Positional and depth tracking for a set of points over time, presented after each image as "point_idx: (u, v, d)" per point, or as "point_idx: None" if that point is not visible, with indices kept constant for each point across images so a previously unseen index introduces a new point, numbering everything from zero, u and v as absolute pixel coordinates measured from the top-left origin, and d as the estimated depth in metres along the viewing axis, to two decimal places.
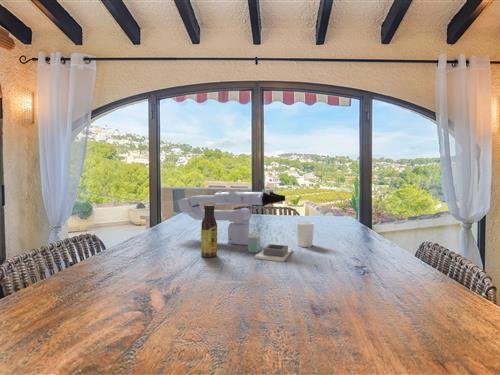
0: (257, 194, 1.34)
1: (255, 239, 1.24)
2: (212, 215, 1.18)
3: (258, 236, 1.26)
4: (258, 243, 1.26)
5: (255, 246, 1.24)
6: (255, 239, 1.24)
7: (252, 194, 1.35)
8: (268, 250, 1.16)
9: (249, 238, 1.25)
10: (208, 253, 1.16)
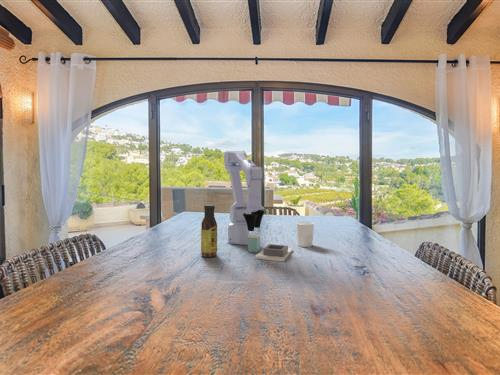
0: (256, 203, 1.23)
1: (255, 239, 1.24)
2: (212, 215, 1.18)
3: (258, 236, 1.26)
4: (258, 243, 1.26)
5: (255, 246, 1.24)
6: (255, 239, 1.24)
7: (256, 198, 1.23)
8: (268, 250, 1.16)
9: (249, 238, 1.25)
10: (208, 253, 1.16)
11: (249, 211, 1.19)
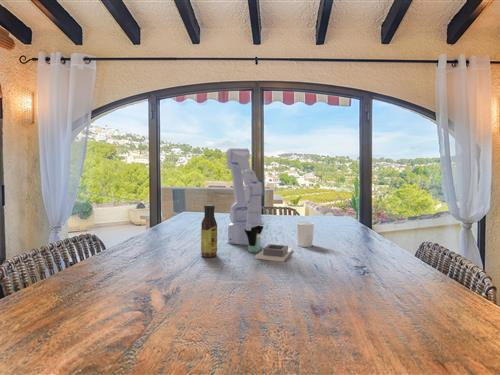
0: (256, 219, 1.23)
1: None
2: (212, 215, 1.18)
3: (258, 236, 1.26)
4: (258, 243, 1.26)
5: (255, 246, 1.24)
6: None
7: (256, 214, 1.23)
8: (268, 250, 1.16)
9: None
10: (208, 253, 1.16)
11: (249, 227, 1.19)
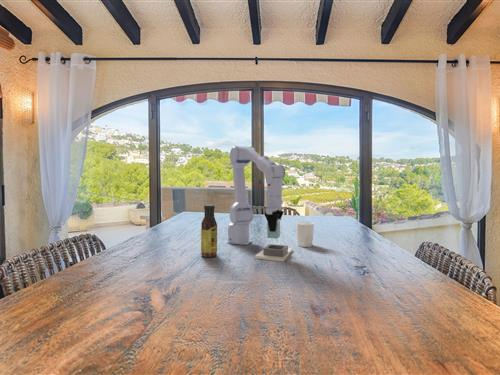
0: (277, 203, 1.16)
1: (276, 225, 1.17)
2: (212, 215, 1.18)
3: (278, 221, 1.18)
4: (278, 229, 1.19)
5: (275, 232, 1.17)
6: None
7: (277, 197, 1.16)
8: (268, 250, 1.16)
9: None
10: (208, 253, 1.16)
11: (270, 211, 1.12)
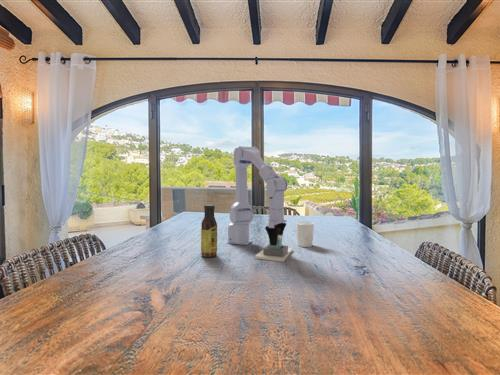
0: (279, 216, 1.16)
1: (277, 241, 1.17)
2: (212, 215, 1.18)
3: (280, 238, 1.18)
4: (280, 245, 1.18)
5: None
6: (277, 240, 1.17)
7: (279, 210, 1.16)
8: (268, 250, 1.16)
9: None
10: (208, 253, 1.16)
11: (272, 225, 1.12)
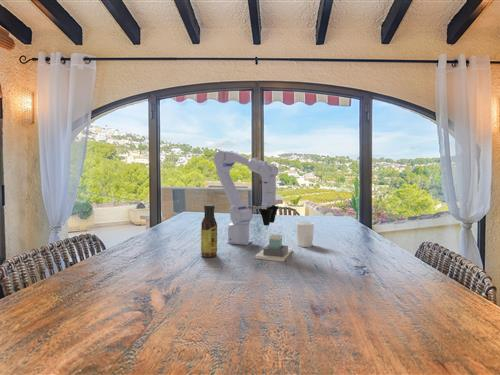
0: (271, 199, 1.28)
1: (277, 241, 1.17)
2: (212, 215, 1.18)
3: (280, 238, 1.18)
4: (280, 245, 1.18)
5: None
6: (277, 240, 1.17)
7: (271, 193, 1.28)
8: (268, 250, 1.16)
9: (271, 240, 1.18)
10: (208, 253, 1.16)
11: (265, 206, 1.24)
